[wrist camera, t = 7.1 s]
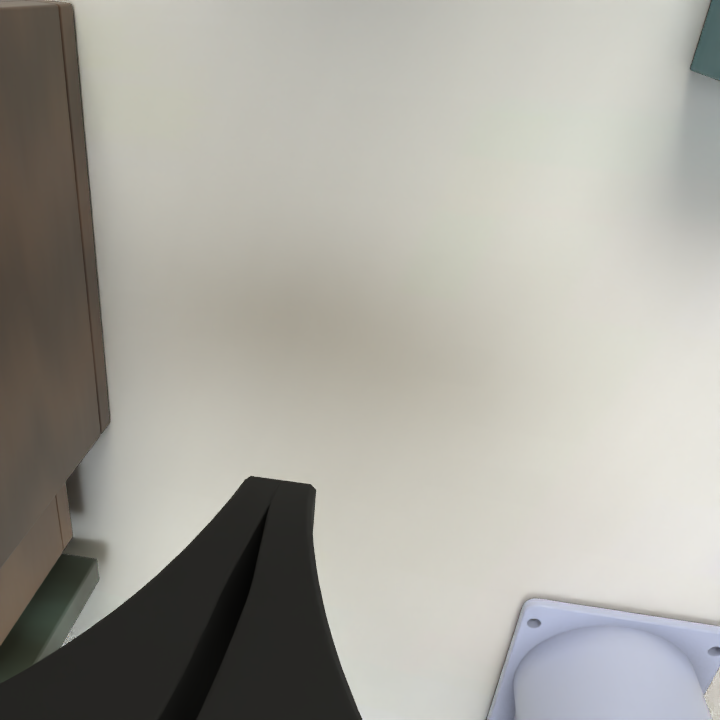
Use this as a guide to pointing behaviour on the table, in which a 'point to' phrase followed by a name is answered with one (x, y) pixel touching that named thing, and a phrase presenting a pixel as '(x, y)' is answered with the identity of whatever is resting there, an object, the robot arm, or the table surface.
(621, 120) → the table surface
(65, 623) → the drawer
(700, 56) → the block
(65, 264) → the cabinet
